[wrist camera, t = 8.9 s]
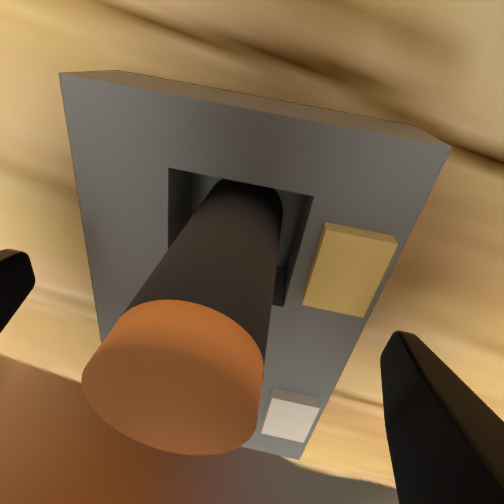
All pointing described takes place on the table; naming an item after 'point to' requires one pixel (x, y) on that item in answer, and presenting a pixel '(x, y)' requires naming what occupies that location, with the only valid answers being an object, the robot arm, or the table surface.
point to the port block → (258, 173)
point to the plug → (196, 331)
